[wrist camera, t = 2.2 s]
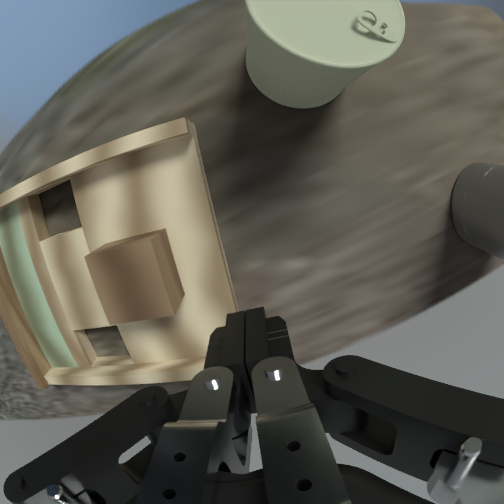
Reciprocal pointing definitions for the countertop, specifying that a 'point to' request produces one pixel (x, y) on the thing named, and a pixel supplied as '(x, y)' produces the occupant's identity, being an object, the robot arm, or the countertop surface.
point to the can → (317, 45)
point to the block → (136, 278)
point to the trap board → (105, 231)
